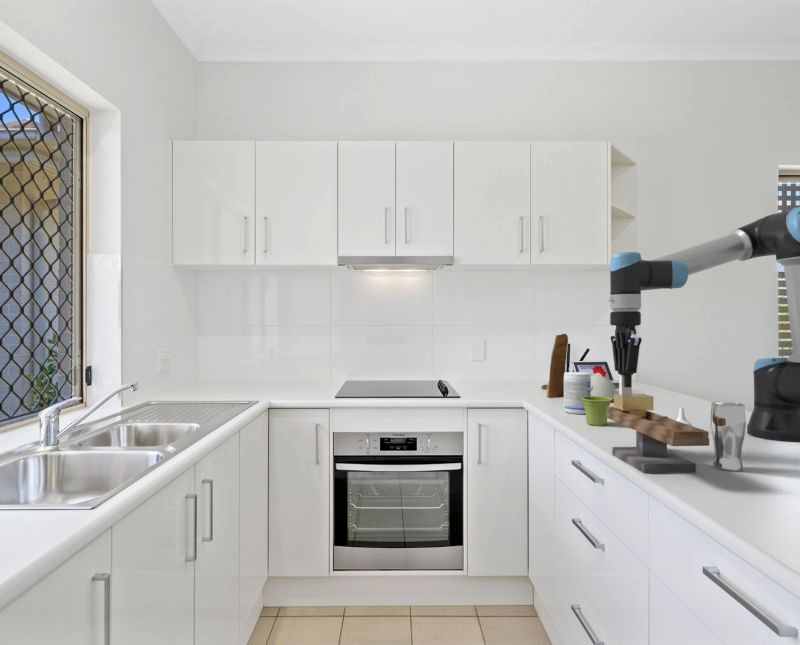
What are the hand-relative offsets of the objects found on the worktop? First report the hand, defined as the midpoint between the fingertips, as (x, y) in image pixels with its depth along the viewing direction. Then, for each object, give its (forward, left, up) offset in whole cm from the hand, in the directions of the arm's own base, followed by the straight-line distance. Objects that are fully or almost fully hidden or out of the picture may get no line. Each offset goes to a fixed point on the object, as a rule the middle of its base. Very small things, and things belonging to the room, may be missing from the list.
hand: (625, 399), depth 140 cm
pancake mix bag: (-15, -96, -14) cm, 98 cm away
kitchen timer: (-28, -82, -14) cm, 88 cm away
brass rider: (0, +4, -4) cm, 6 cm away
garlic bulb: (-27, -20, -14) cm, 36 cm away
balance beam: (0, +13, -14) cm, 19 cm away
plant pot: (-6, -33, -14) cm, 36 cm away
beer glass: (-16, +18, -14) cm, 28 cm away
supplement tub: (-8, -55, -14) cm, 57 cm away
